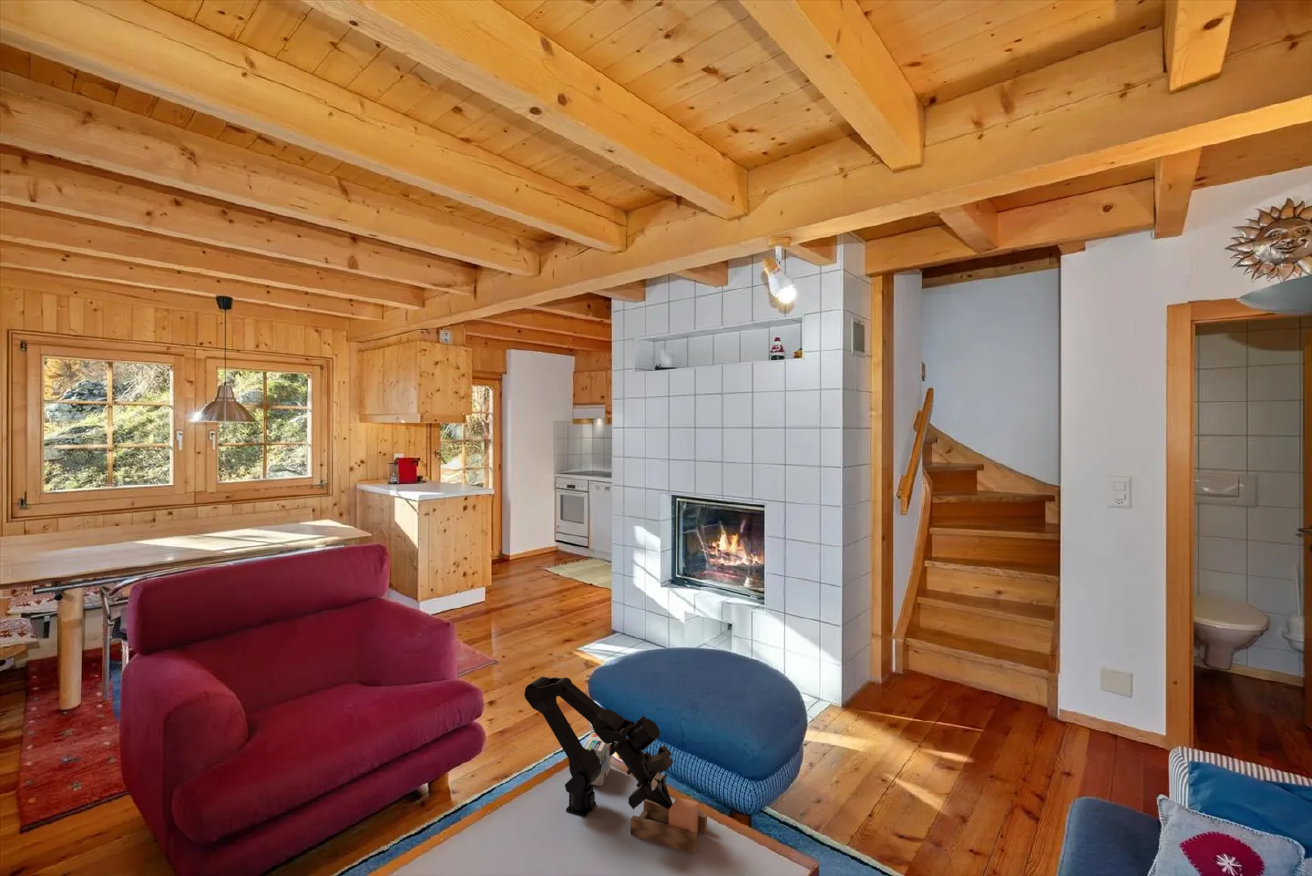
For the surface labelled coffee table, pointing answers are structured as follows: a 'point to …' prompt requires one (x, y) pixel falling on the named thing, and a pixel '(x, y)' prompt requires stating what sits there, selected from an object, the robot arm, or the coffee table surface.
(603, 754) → the light bulb box
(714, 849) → the coffee table surface
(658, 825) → the walnut chute
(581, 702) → the robot arm
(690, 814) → the terracotta block
